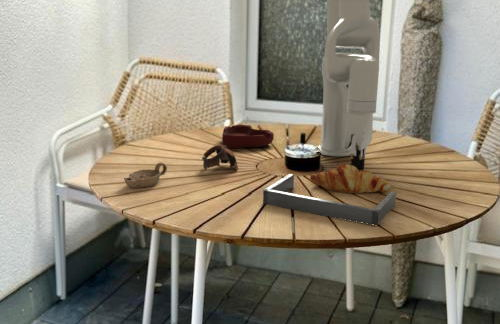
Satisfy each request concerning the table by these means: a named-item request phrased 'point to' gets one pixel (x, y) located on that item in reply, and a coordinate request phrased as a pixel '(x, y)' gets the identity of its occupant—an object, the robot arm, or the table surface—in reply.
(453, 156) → the table surface
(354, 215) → the bent metal bracket
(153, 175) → the oil lamp
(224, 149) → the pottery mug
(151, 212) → the table surface
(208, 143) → the table surface
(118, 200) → the table surface
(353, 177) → the croissant
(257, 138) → the ashtray
